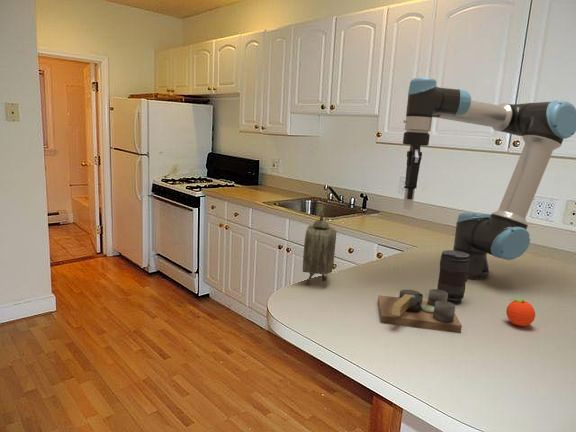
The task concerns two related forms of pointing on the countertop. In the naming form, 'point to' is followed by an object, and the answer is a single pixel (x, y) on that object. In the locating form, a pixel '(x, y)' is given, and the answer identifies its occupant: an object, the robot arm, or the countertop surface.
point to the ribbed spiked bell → (319, 248)
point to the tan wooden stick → (408, 302)
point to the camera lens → (453, 274)
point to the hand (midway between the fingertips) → (407, 209)
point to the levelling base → (423, 313)
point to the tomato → (520, 312)
